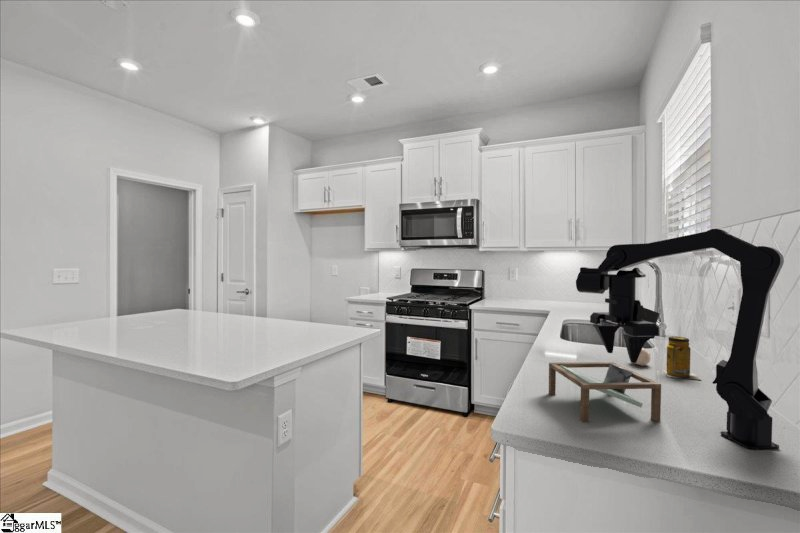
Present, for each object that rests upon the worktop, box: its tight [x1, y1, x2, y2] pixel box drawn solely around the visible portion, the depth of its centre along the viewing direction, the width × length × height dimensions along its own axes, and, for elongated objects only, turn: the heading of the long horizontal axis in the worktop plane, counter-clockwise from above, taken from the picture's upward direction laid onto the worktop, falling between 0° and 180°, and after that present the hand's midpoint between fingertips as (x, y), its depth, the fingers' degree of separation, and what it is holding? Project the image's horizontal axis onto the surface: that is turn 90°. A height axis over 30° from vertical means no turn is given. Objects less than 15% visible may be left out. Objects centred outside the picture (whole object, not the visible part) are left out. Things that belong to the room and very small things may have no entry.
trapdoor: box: [560, 365, 643, 408], centre depth 95 cm, size 14×14×1 cm
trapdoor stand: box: [548, 361, 662, 423], centre depth 95 cm, size 18×18×8 cm
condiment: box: [662, 335, 702, 381], centre depth 120 cm, size 7×8×12 cm
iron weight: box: [602, 364, 632, 394], centre depth 95 cm, size 5×5×6 cm
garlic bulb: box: [634, 347, 652, 367], centre depth 132 cm, size 7×6×8 cm
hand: (621, 357), depth 95 cm, fingers open, 9 cm apart
